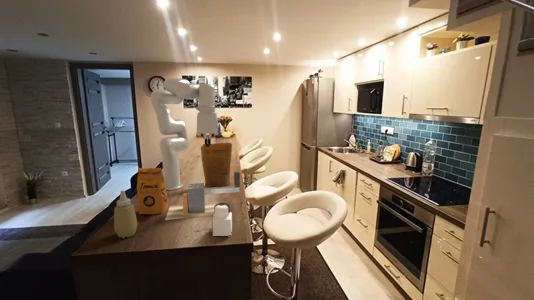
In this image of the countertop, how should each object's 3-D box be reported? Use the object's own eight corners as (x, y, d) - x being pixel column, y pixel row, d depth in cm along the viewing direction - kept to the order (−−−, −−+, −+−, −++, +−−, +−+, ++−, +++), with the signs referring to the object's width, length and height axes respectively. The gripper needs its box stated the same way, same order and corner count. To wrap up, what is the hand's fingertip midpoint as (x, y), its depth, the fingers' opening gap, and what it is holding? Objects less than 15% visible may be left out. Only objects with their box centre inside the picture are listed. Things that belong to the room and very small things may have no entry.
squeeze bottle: (114, 242, 92) (109, 196, 89) (115, 232, 99) (111, 189, 96) (138, 237, 95) (134, 192, 92) (138, 228, 102) (134, 186, 99)
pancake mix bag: (233, 186, 156) (232, 143, 151) (202, 188, 153) (200, 143, 148) (232, 183, 163) (231, 141, 158) (203, 184, 159) (201, 142, 155)
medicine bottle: (214, 228, 102) (213, 201, 100) (232, 227, 103) (231, 200, 101) (212, 237, 95) (211, 208, 93) (231, 236, 96) (230, 207, 94)
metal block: (190, 207, 122) (189, 183, 119) (204, 205, 123) (204, 182, 121) (189, 213, 114) (188, 189, 112) (204, 212, 116) (203, 188, 113)
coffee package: (162, 217, 113) (159, 170, 109) (136, 216, 113) (131, 170, 109) (171, 208, 123) (168, 165, 119) (146, 208, 123) (143, 165, 119)
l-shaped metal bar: (197, 193, 118) (196, 174, 117) (239, 190, 123) (238, 171, 122) (197, 195, 116) (196, 175, 114) (239, 191, 121) (239, 172, 119)
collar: (184, 207, 121) (183, 193, 119) (188, 207, 121) (188, 193, 120) (183, 214, 114) (182, 198, 112) (187, 213, 114) (187, 198, 113)
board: (170, 207, 123) (170, 205, 123) (218, 203, 129) (218, 201, 129) (165, 222, 108) (165, 219, 108) (220, 216, 114) (220, 214, 113)
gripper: (190, 109, 115) (191, 148, 119) (223, 110, 119) (223, 147, 122) (191, 109, 122) (192, 145, 126) (221, 109, 126) (222, 145, 130)
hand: (207, 146), depth 124 cm, fingers closed
